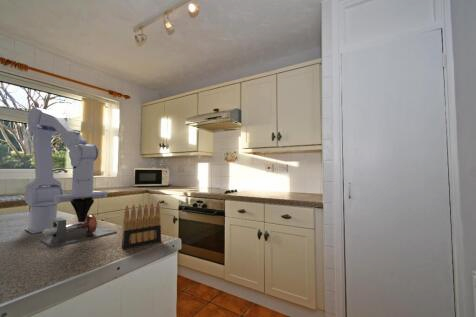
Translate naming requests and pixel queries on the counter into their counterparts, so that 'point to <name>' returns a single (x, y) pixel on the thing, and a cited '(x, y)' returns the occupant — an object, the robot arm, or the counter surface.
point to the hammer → (77, 226)
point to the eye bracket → (72, 234)
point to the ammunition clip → (135, 229)
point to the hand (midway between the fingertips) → (81, 221)
